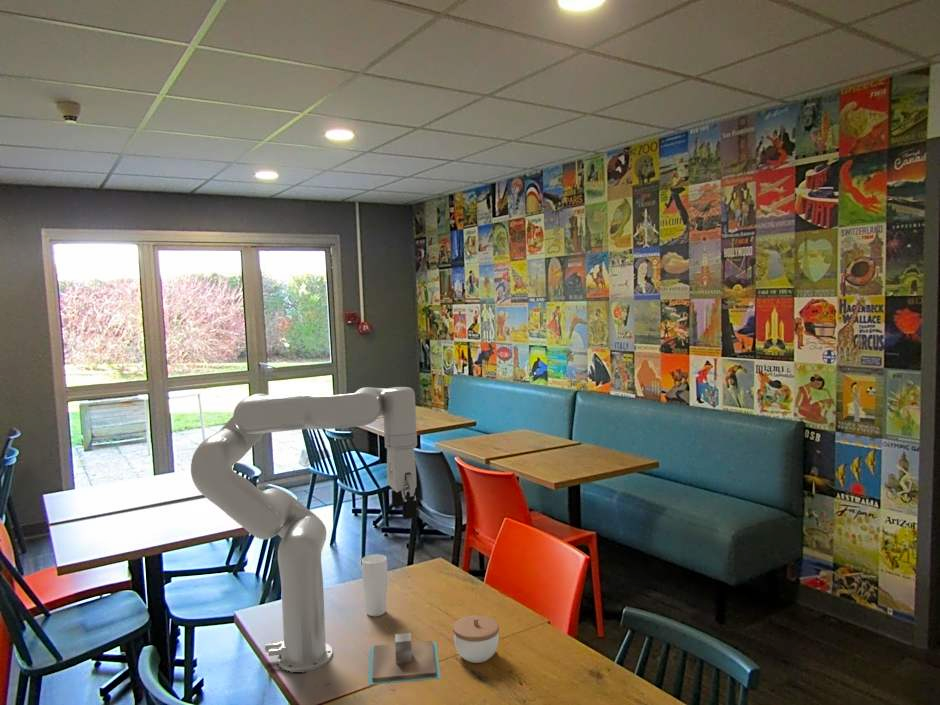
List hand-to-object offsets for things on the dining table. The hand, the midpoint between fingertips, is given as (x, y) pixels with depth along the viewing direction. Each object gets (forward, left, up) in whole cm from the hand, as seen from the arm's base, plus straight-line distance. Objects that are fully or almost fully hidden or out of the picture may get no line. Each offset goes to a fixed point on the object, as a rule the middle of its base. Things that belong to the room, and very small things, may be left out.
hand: (404, 511), depth 153 cm
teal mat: (-1, -5, -34) cm, 35 cm away
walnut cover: (-1, -5, -34) cm, 34 cm away
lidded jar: (+16, -5, -34) cm, 38 cm away
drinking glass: (-8, +22, -34) cm, 42 cm away
